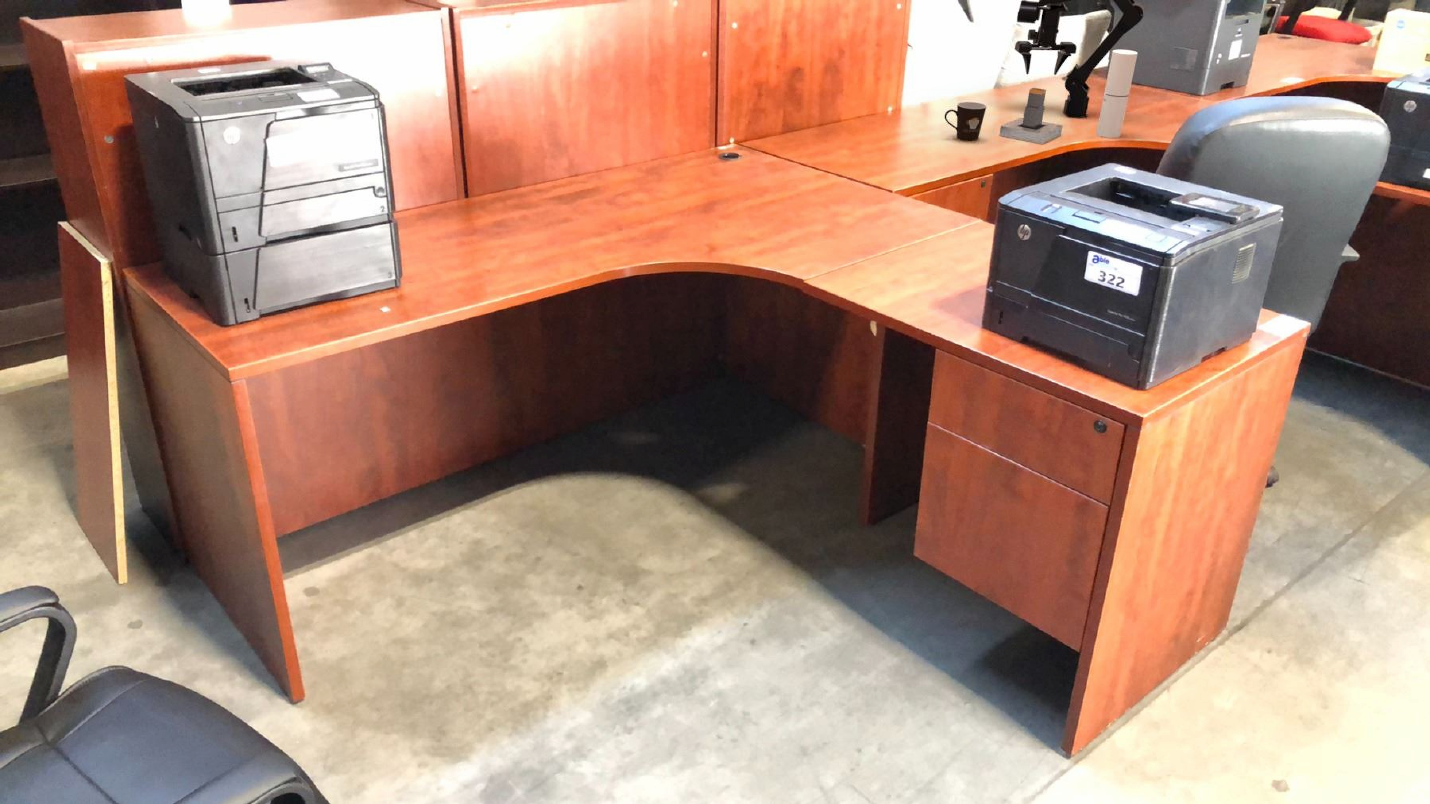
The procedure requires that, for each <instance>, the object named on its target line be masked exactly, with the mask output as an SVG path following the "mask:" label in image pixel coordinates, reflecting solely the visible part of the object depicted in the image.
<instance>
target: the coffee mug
mask: <svg viewBox="0 0 1430 804" xmlns="http://www.w3.org/2000/svg"><path fill="white" fill-rule="evenodd" d="M956 106H957V107H956V108H957V109H956V110H955V109H949V110H947V111H945V113H944V119H945V121H946V123H947V124H948V125H950V126H951V127H953V129H955V130H956V139H957V140H960V141H963V142H964V141H965V142H975V141H978V140H979V137H980V134H981V133H980V132H981V129H982V125H983V123H984V122H983V121H984V117H985V114H986V109H987V105H986V104H984V103H980V102H975V101H961V102H958V103H957V105H956ZM952 112H953V113H954V114H955V116H956V126H955V125H954V124H952V123H951V121H949V120H948V119H947V116H948V114H949V113H952Z"/></svg>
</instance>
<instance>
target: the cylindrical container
mask: <svg viewBox="0 0 1430 804" xmlns="http://www.w3.org/2000/svg"><path fill="white" fill-rule="evenodd" d="M1137 58H1138V52H1137V51H1135V50H1130V49H1114V50H1112V53H1111V56H1110V63H1109V67H1108V73H1107V78H1106V82H1105V89H1104V94H1103V97H1102V103H1101V109H1100V113H1099V119H1098V124H1097V129H1096V135H1097V136H1099V137H1101V136H1103V137H1102V138H1107V139H1117V138H1120V137H1121V135H1122V130H1123V126H1124V125H1123V124H1124V121H1125V114H1126V112H1127V111H1126V110H1127V107H1128V102H1129V97H1130V96H1129V95H1130V92H1131V86H1132V82H1133V78H1134V73H1135V67H1136V62H1137Z"/></svg>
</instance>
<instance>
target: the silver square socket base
mask: <svg viewBox="0 0 1430 804" xmlns="http://www.w3.org/2000/svg"><path fill="white" fill-rule="evenodd" d="M1023 118H1024V117H1018V118H1016V119H1014V120H1012V121H1010V122H1007V123H1005V124H1002V125H1000V128H999V137H1005V138H1009V139H1014V140H1020V141H1023V142H1024V141H1025V142H1027V143H1028V142H1030V143H1033V144H1038V143H1039V144H1040V145H1043V144H1045V143H1046V144H1047V142H1049V141H1052V140H1054V139H1055V138H1056V139H1057V138H1058V137H1060V136H1062V132H1063V127H1064V126H1063V125H1062V124H1058V123H1051V122H1046V121H1042V125H1041V128H1040V129H1038V130H1034V129H1029V128H1024V127H1022V125H1023Z"/></svg>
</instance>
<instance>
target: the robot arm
mask: <svg viewBox="0 0 1430 804" xmlns="http://www.w3.org/2000/svg"><path fill="white" fill-rule="evenodd" d="M1070 1H1072V0H1038V1H1034V0H1033V1H1032V0H1021V1H1020V4H1019V8H1018V11H1017V16H1016V22H1017V23H1023V24H1032V25H1033V24H1036V22H1038V21H1039V20H1040V24H1039V26H1038V29H1037V31H1036V29H1034V28H1033V29H1032V28H1031V29H1028V33H1027V40H1017V41H1016V42H1015V43H1014V50H1015V51H1016V52H1017V53H1019V55H1021V56H1022V58H1023V61H1024V67H1025V73H1026V75H1029V72H1030V70H1031V69H1030V68H1031V61H1032V53H1031V51H1057V58H1056V61H1055V66H1054V68H1053V71H1054V72H1053V75H1054V76H1056V75H1057V74H1058V72H1059V70H1060V69H1061V68H1062V66H1063V64H1064V63H1065V62H1066V60H1067V59H1068V58H1069V57H1072V55H1073V54H1074V55H1075V54H1076V53H1077V45H1076V43H1074V42H1073V41H1060V43H1059V44H1057V37H1058V34H1059V32H1060V30H1059V25H1060V19H1061V13H1062V12H1067V11H1068V8H1069V7H1067V6H1066V5H1065V2H1070ZM1112 1H1113V3H1115V5H1116V7H1117V8H1119V10H1120V11H1121V13H1122V14H1121V16H1120V18H1119V19H1118V21H1117V23H1116V24H1115V26H1114V27H1113V29H1112V30H1111V31H1110V32H1109V33H1108V34H1107V36H1106V37H1105V38H1104V39H1103V40H1102V41H1101V43H1099V44H1098V46H1096V48H1095V50H1094V51H1093V52H1092V53H1091V54H1090V55H1089V56H1088V57H1087V58H1086V59H1085V61H1084V62H1083V63H1081V64H1080V65H1079V64H1078V63H1075V65H1074V66H1073V67H1072V69H1071V70H1070V71H1068V73H1066V79H1065V81H1064V87H1065V90H1066V92H1067V91H1068V93H1069V94H1068V95H1067V99H1065V101H1064V107H1063V111H1062V113H1063V114H1064V115H1065V116H1066V117H1068V118H1088V117H1089V116H1088V114H1087V111H1088V106H1089V101H1090V96H1088V95H1089V92H1090V90H1091V88H1090V86H1089V85H1088V84H1087V83H1086V82H1087V80H1088V79H1089V77H1090V76H1091V75H1092V72H1093V71H1094V70H1095V68H1097V66H1098V65H1099V64H1100V62H1101V61H1102V60H1103V59H1104V58H1105V57H1106V56H1107V54H1108V53H1109V52H1110V51H1111V50H1112V49H1113V48H1114V46H1115V45H1116V44H1117V43H1118V42H1119V41H1120V40H1121V38H1122V37H1123V36H1124V35H1126V33H1128V32H1129V31H1131V30H1132V29H1133V28H1134V27H1135V26H1137V25H1138V24H1139V23H1140V22H1141V21H1142V20H1143V18H1144V15H1145V7H1144V6H1143V4H1142V3H1140V2H1136V1H1134V0H1112ZM1060 3H1061V4H1060ZM1049 4H1050V6H1047V5H1049ZM1059 4H1060V5H1059ZM1041 12H1042V13H1041ZM1030 41H1032V42H1030Z"/></svg>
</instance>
